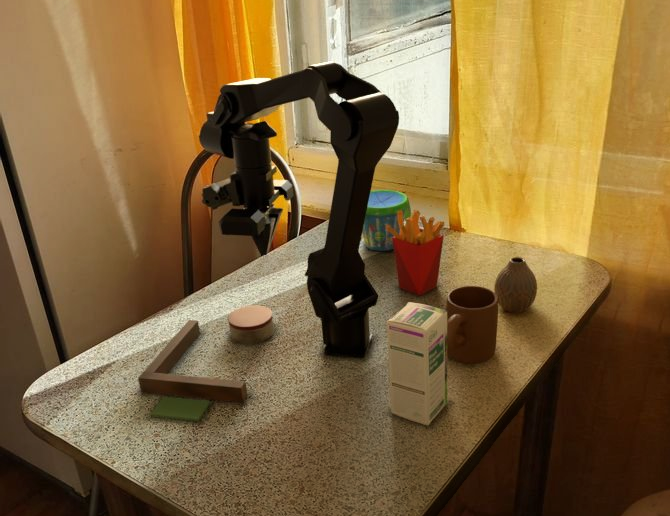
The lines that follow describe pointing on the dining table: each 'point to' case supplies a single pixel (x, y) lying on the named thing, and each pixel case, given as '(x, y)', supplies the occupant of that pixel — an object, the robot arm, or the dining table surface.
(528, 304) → the vase
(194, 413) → the green rag
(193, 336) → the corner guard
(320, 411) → the dining table surface
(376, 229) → the snack cup
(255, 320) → the tin
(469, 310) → the mug
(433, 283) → the french fries
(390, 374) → the syrup box
